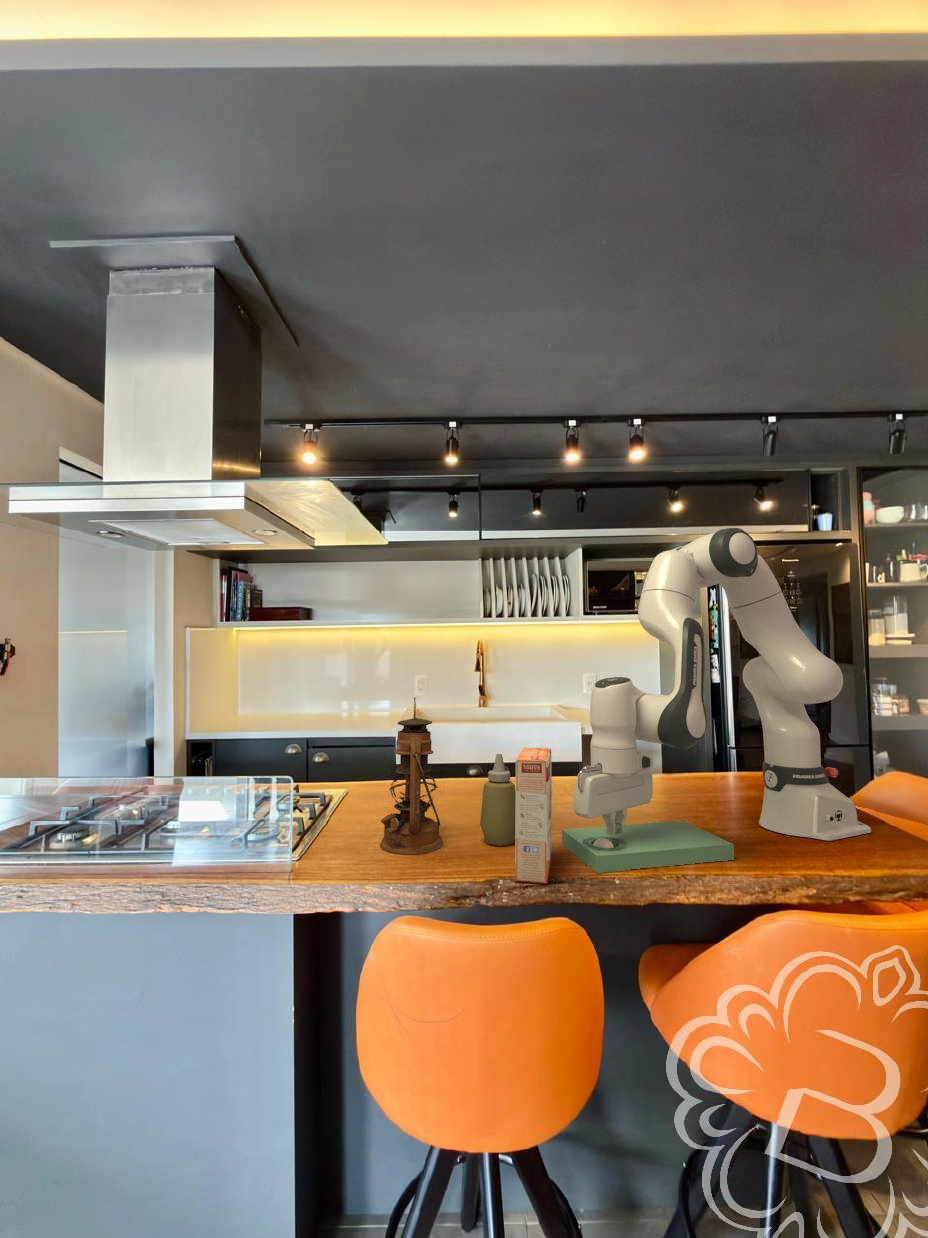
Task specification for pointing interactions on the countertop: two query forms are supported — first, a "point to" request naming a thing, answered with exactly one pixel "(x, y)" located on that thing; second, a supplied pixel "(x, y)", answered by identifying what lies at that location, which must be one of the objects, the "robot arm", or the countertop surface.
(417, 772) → the lantern
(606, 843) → the ball
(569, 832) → the putting board
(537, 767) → the cracker box
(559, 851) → the countertop surface
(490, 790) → the squeeze bottle
